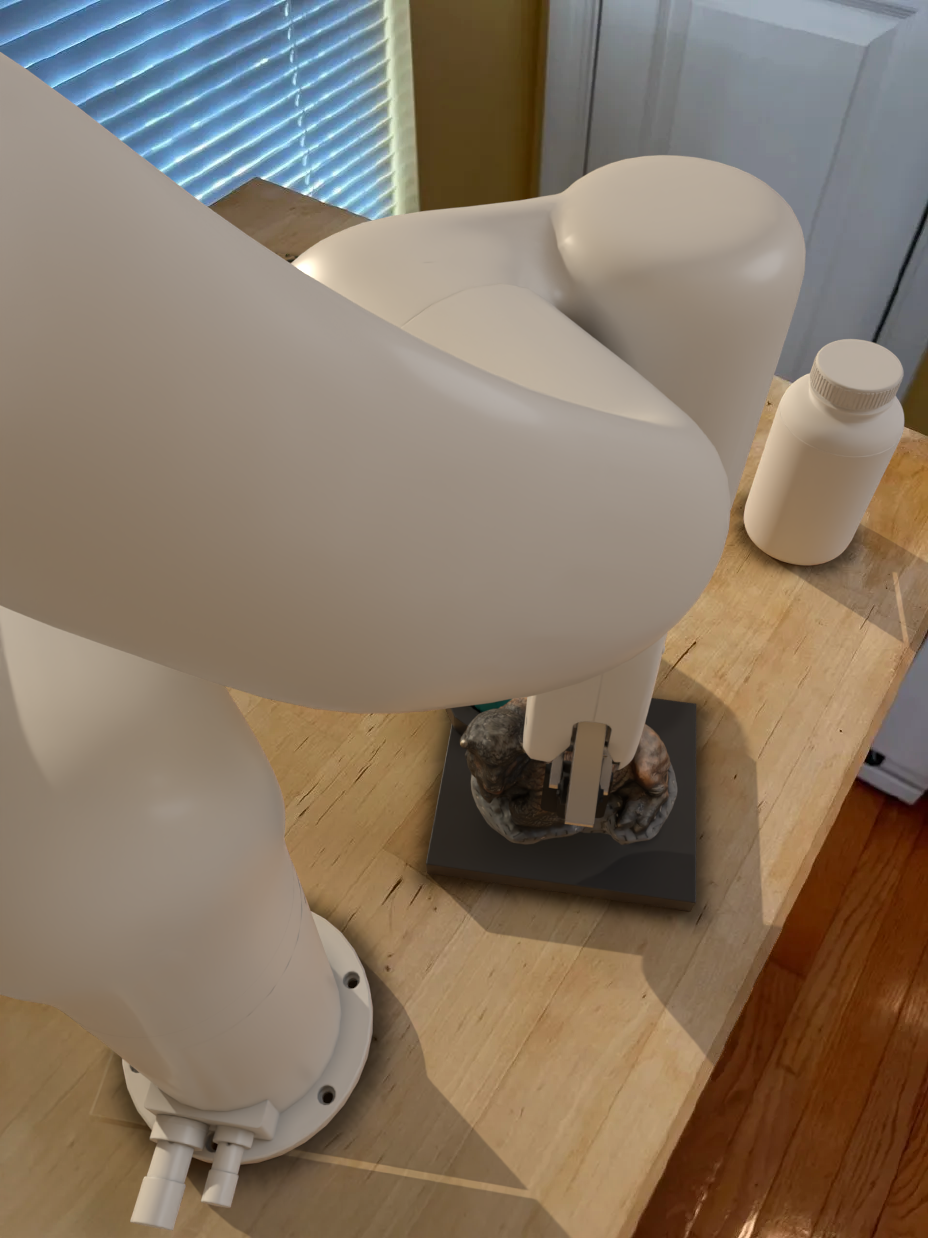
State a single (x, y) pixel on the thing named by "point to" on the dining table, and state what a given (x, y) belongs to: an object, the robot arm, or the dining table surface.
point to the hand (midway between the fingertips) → (577, 752)
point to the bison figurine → (516, 781)
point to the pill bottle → (826, 453)
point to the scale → (583, 858)
